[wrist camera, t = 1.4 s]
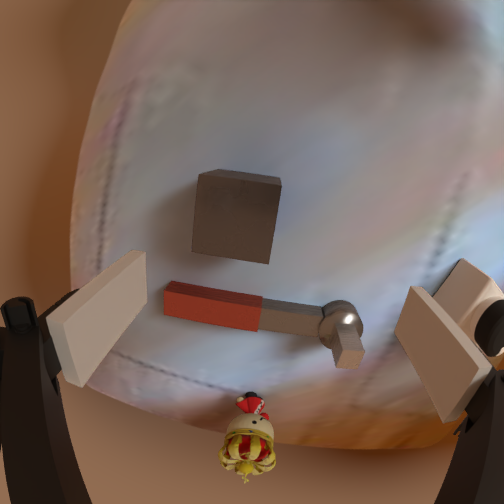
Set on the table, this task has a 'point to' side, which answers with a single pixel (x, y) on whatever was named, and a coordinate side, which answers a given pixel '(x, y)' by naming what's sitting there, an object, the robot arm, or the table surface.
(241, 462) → the toy
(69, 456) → the robot arm
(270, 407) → the table surface
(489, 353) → the medicine bottle
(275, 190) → the dark wooden cube
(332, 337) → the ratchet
